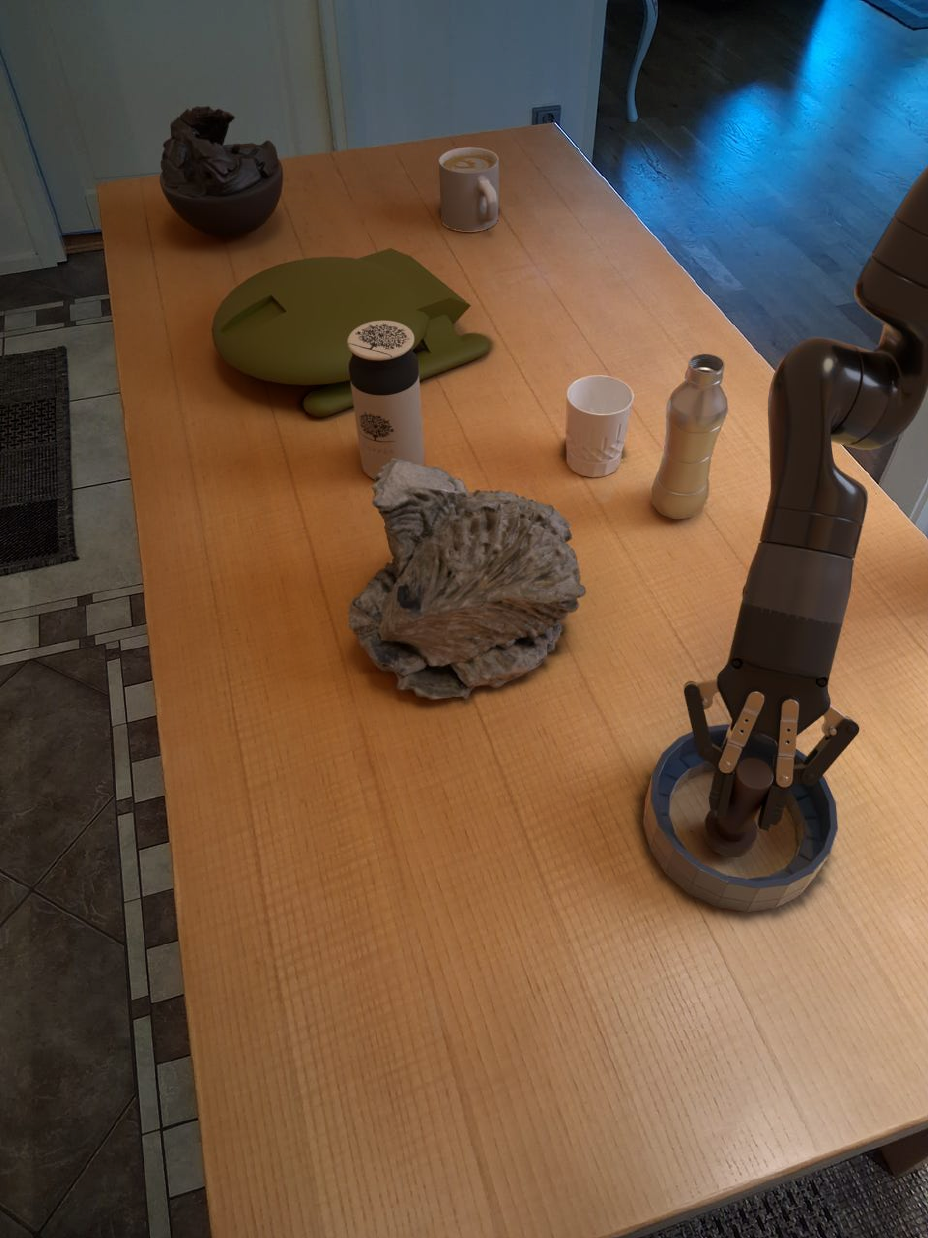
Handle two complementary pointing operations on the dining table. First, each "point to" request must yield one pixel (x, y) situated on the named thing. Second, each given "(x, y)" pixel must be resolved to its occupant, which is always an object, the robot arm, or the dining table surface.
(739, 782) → the dark brown peg stand
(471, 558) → the rock
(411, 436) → the travel mug
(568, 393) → the white cup
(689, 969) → the dining table surface
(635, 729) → the dining table surface
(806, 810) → the faceted gray band ring
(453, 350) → the spaceship
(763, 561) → the robot arm
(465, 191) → the coffee mug
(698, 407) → the plastic bottle
